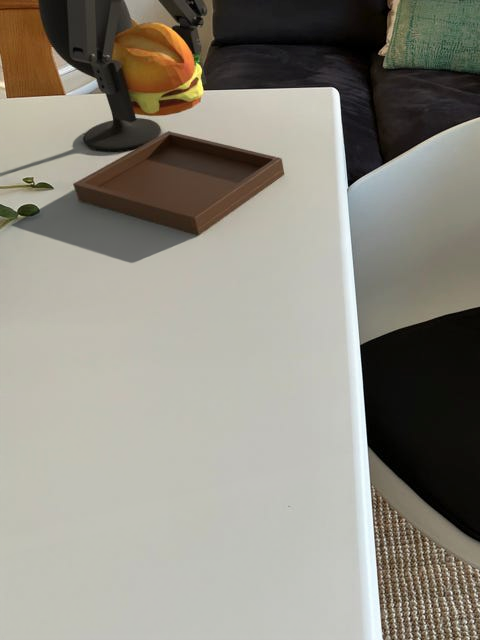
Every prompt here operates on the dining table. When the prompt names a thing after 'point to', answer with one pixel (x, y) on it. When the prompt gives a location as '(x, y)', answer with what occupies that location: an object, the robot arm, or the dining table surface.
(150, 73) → the cheeseburger
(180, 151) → the tray
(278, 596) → the dining table surface
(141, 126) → the wine glass
